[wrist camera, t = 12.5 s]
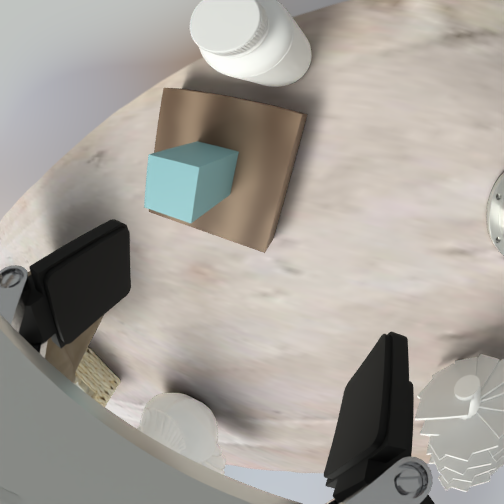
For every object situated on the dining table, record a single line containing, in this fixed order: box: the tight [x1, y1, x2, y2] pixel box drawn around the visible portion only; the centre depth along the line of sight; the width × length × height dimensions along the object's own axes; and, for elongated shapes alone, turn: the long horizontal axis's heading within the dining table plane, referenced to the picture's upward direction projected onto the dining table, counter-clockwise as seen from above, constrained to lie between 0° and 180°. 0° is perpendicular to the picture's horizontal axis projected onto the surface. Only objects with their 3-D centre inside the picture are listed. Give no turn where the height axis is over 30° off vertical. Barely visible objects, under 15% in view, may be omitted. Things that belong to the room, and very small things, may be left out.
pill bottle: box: [190, 0, 312, 87], centre depth 21 cm, size 8×8×15 cm
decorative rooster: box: [137, 393, 226, 475], centre depth 54 cm, size 25×16×25 cm, turn 31°
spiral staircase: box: [415, 354, 504, 492], centre depth 31 cm, size 18×18×25 cm
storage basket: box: [74, 347, 120, 407], centre depth 68 cm, size 24×16×15 cm
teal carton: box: [144, 141, 239, 223], centre depth 28 cm, size 5×5×9 cm
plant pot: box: [27, 271, 104, 383], centre depth 48 cm, size 25×25×22 cm
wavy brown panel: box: [149, 88, 307, 253], centre depth 34 cm, size 16×16×4 cm
